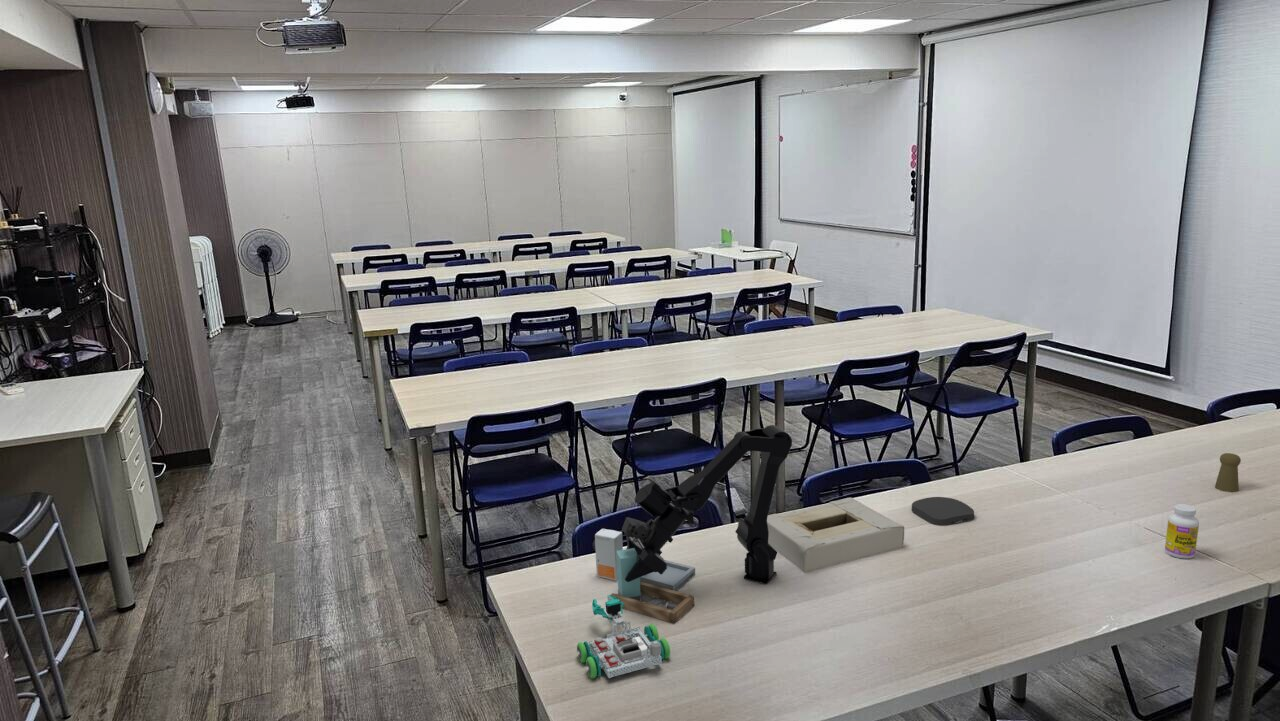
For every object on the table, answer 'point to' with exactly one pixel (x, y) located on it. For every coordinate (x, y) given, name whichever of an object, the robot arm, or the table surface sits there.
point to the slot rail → (656, 611)
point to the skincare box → (607, 553)
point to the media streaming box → (942, 510)
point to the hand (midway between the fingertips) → (622, 574)
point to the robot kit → (621, 645)
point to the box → (832, 534)
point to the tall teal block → (624, 566)
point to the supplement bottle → (1182, 532)
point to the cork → (1228, 473)
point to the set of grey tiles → (663, 603)
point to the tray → (670, 576)
